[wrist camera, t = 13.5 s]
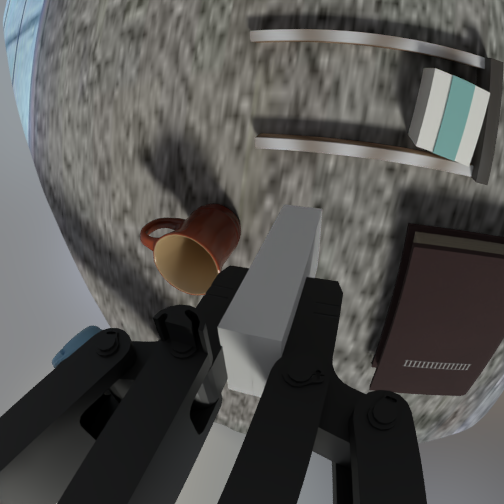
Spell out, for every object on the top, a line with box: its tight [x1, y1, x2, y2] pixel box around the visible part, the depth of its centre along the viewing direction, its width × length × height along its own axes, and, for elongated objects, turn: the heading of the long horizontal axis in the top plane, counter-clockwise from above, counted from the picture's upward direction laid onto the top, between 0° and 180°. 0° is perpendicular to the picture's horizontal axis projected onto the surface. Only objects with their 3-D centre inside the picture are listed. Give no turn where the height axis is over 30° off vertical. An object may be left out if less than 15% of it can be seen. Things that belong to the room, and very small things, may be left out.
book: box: [369, 223, 504, 396], centre depth 38 cm, size 28×20×6 cm
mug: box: [140, 204, 241, 295], centre depth 40 cm, size 12×9×10 cm
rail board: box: [250, 29, 503, 185], centre depth 27 cm, size 26×13×4 cm, turn 93°
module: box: [408, 68, 490, 167], centre depth 24 cm, size 6×8×6 cm
